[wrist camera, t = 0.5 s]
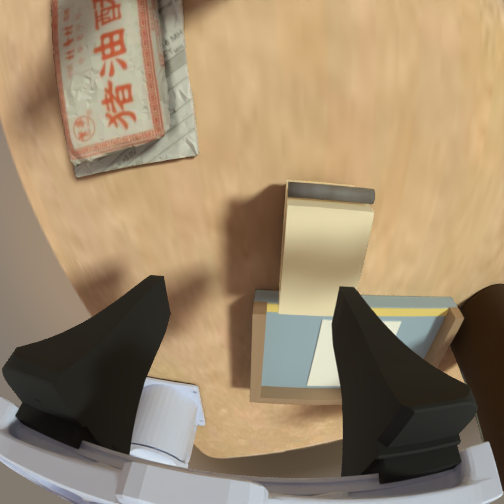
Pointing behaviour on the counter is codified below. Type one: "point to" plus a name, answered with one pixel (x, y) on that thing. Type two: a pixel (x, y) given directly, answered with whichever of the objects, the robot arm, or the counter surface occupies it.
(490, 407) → the olive oil
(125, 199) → the counter surface
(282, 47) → the counter surface
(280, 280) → the beige block with rod
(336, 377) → the dock
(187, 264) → the counter surface
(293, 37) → the counter surface
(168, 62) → the packaged product
